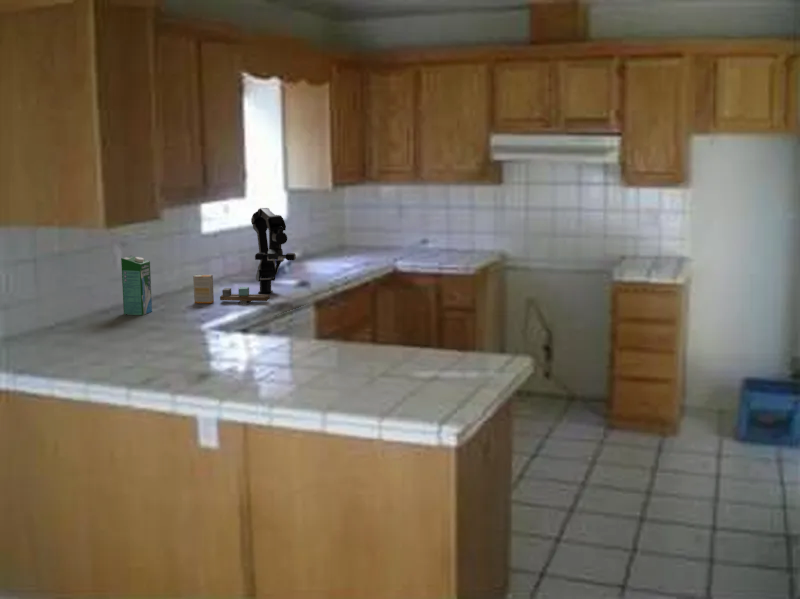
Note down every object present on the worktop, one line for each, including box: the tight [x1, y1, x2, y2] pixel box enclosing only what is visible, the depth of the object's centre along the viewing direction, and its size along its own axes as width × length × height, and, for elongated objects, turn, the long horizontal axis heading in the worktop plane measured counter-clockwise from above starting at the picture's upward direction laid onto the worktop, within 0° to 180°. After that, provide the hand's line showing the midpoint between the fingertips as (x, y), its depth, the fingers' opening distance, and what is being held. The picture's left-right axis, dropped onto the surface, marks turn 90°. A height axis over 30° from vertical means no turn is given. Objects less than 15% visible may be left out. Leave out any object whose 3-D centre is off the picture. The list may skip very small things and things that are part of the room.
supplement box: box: [192, 274, 215, 305], centre depth 431 cm, size 8×5×13 cm, turn 84°
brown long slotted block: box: [219, 287, 270, 305], centre depth 433 cm, size 9×22×6 cm, turn 88°
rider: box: [238, 286, 250, 296], centre depth 432 cm, size 5×4×5 cm
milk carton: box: [120, 255, 153, 316], centre depth 405 cm, size 9×9×25 cm
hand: (275, 274), depth 440 cm, fingers closed
